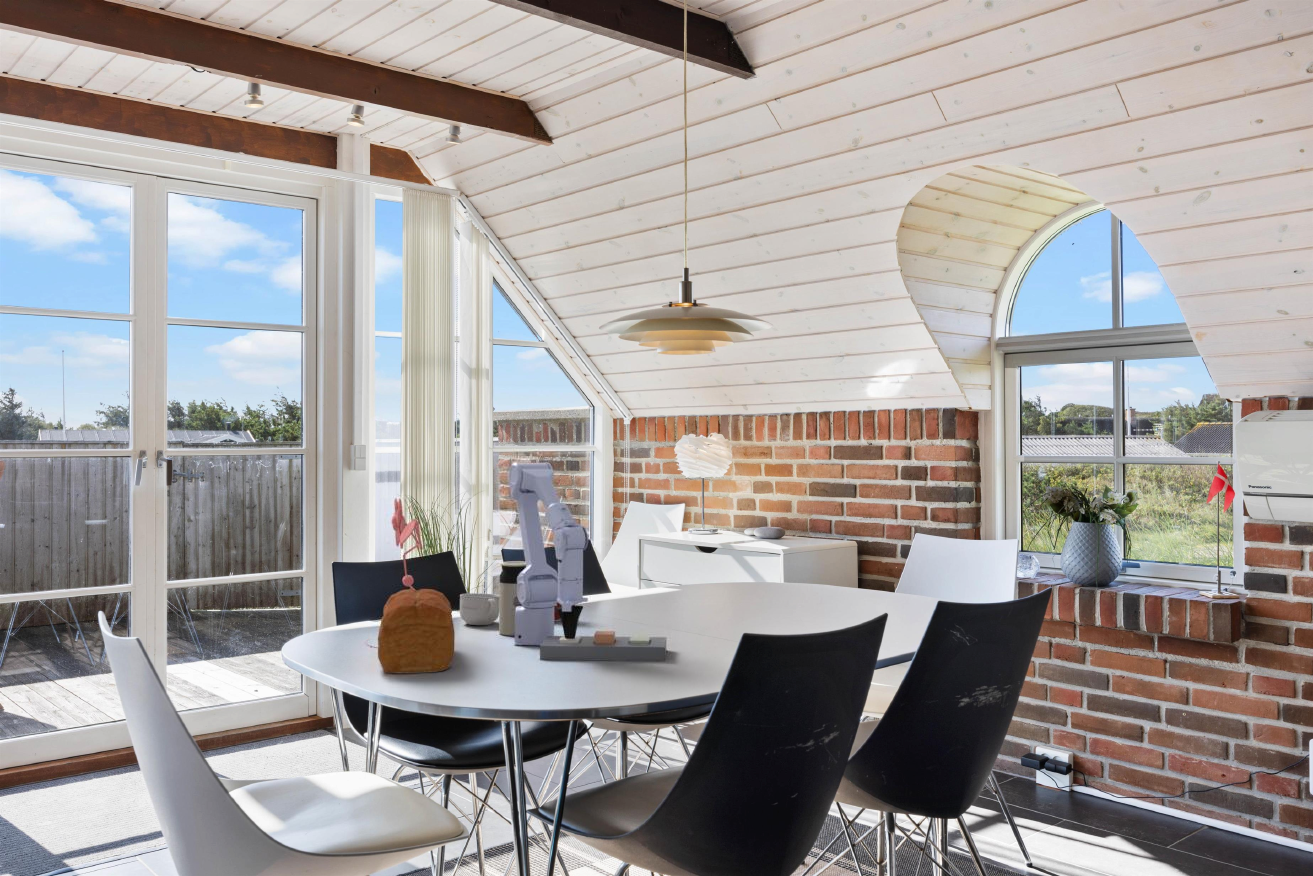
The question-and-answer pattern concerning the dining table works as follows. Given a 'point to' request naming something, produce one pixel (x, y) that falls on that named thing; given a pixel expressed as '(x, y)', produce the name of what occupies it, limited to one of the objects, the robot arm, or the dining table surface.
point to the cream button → (570, 640)
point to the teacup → (479, 608)
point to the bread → (416, 632)
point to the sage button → (639, 640)
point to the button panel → (603, 649)
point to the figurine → (404, 537)
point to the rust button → (604, 637)
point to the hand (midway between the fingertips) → (570, 638)
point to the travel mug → (509, 596)
